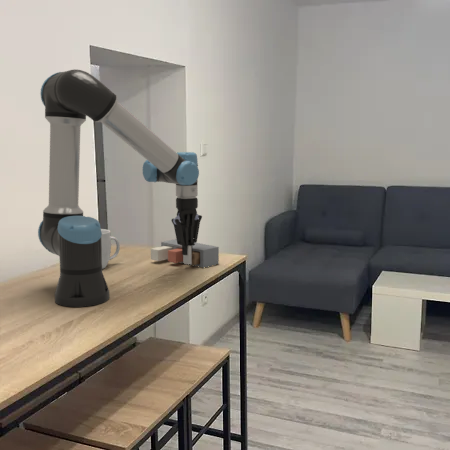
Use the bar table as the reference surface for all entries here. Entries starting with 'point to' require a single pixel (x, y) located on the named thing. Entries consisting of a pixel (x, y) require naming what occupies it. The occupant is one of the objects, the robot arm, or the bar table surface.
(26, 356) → the bar table surface
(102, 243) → the mug
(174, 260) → the brick peg
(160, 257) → the cream peg
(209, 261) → the socket block
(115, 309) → the bar table surface
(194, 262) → the walnut peg
